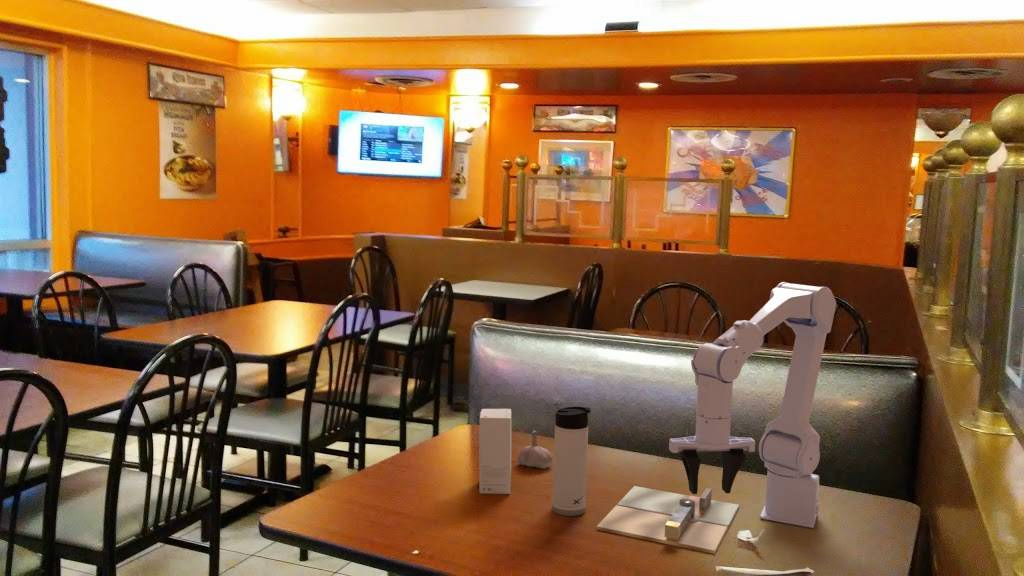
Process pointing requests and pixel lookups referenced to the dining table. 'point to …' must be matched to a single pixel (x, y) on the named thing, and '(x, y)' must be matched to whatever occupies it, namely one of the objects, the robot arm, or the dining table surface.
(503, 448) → the skincare box
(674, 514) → the bar
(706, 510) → the door board
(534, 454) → the garlic bulb
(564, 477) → the travel mug
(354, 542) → the dining table surface
